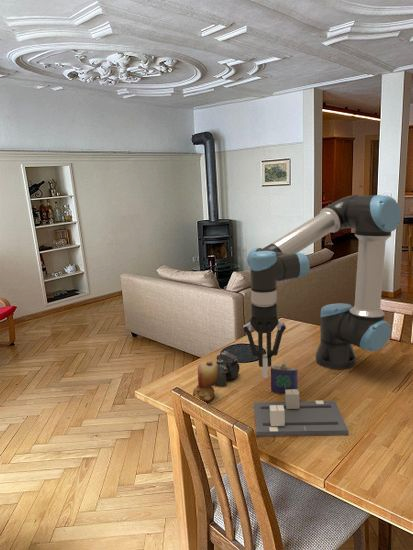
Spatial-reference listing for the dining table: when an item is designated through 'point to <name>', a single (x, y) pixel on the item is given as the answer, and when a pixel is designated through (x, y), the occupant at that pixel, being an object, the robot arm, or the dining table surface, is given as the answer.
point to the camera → (226, 368)
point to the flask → (283, 378)
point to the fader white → (277, 415)
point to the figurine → (206, 381)
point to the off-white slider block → (292, 399)
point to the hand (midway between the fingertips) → (265, 375)
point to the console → (301, 419)
